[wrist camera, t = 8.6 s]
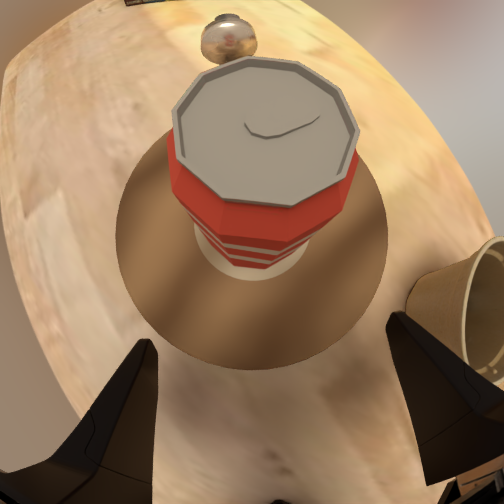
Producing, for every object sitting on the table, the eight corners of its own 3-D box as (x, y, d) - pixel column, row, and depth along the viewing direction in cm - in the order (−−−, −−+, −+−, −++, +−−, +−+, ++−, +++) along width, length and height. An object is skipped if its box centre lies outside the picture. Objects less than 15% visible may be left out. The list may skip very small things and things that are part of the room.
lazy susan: (420, 213, 20) (425, 210, 19) (270, 416, 17) (272, 421, 17) (238, 77, 21) (238, 71, 21) (78, 243, 19) (72, 241, 18)
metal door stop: (206, 82, 22) (193, 3, 12) (254, 78, 22) (257, -2, 13) (207, 117, 21) (190, 34, 12) (259, 112, 21) (265, 28, 12)
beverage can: (317, 239, 18) (414, 162, 7) (235, 287, 18) (211, 277, 6) (271, 166, 19) (298, 32, 7) (191, 209, 19) (124, 98, 7)
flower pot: (476, 319, 19) (542, 322, 10) (412, 385, 18) (478, 417, 10) (442, 235, 20) (510, 210, 12) (368, 295, 19) (439, 294, 11)
